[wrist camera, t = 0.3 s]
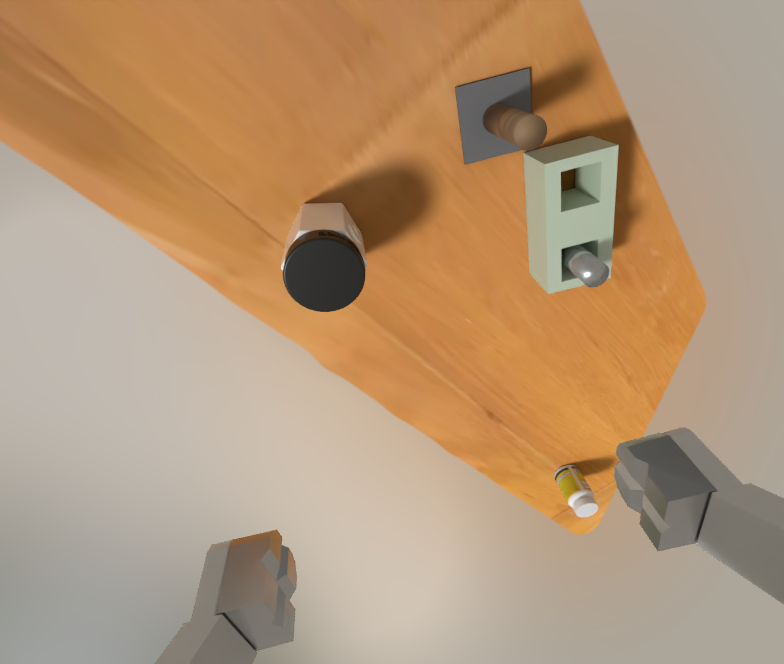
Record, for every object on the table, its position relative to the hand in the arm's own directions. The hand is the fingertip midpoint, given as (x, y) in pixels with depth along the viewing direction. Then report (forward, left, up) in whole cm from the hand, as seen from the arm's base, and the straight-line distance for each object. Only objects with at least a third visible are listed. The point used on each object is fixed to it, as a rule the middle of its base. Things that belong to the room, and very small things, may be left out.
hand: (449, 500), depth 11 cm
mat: (+1, +16, -46) cm, 49 cm away
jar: (+9, -6, -46) cm, 48 cm away
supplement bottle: (+66, +24, -46) cm, 84 cm away
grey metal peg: (+18, +23, -46) cm, 55 cm away
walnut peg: (+1, +16, -46) cm, 49 cm away
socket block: (+14, +23, -46) cm, 53 cm away
